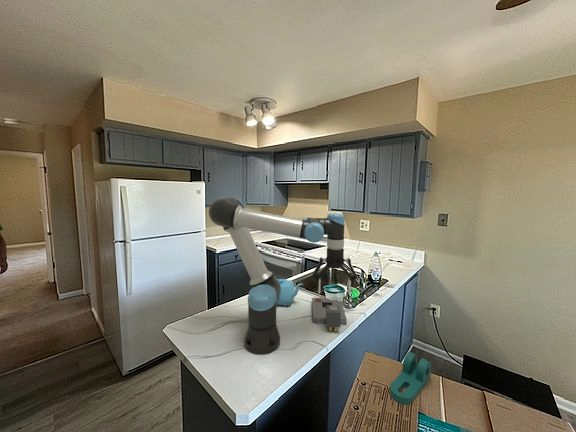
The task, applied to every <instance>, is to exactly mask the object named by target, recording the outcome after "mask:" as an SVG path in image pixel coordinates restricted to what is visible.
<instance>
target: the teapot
mask: <svg viewBox="0 0 576 432" xmlns="http://www.w3.org/2000/svg"><path fill="white" fill-rule="evenodd" d="M276 279H277V280H278V281H279V283H280V285H281V294H280V297H279V300H278V303H277V306H279V305H280V306H282V307H288V306H291V304H292V303H293V300H294V298H295V297H297V296H298V294H299V290H300V287H301V286H302V285H304V283H298V284H296V286H295V285H294V281H293V280H289V279H287V278H279V279H278V278H276ZM287 305H288V306H287Z"/></svg>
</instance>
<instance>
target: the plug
mask: <svg viewBox="0 0 576 432" xmlns="http://www.w3.org/2000/svg"><path fill="white" fill-rule="evenodd" d="M326 323H327V324H326V328H328V331H329V332H332V331H333V330H334V331H333V332H336V331H337V332H338V328H341V326H342V325H341V311H340V308H339V305H326Z"/></svg>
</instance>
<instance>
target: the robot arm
mask: <svg viewBox="0 0 576 432" xmlns="http://www.w3.org/2000/svg"><path fill="white" fill-rule="evenodd" d="M208 216H209V219H210V220H211V222H212V224H215V225H216V226H219V227H222V228H223V231H224V232H226V233H228V234H229V235H230V238H231V239H232V241H233V244H234V246H235V248H236V250H237V252H238V254H239V256H240V258H241V260H242V263H243V265H244V266H245V269H246V272H247V273H248V275H249V277H250V281H249V285H250V290H249V291H248V297H247V306H248V308H247V309H248V312H247V314H248V317H247V318H248V327H247V330H246V333H245V336H244V339H243V340H244V348H245V350H247V351H248V352H250V353H251V354H254V355H268V354H270V353H273V352H274V351H277V349H278V348H279V347H280V345H281V335H280V332H279V329H278V325H277V307H278V304H277V303H278V300H279V297H280V294H281V285H280V283H279V281H278V280H277V279H278V278H277V277H276V276H274V274H273V272H272V271H270V270H268V269H267V266H266V263H265V262H264V260H263V257H262V255H261V253H260V251H259V249H258V247H257V244H256V242H255V241H254V238H253V236H252V234H251V232H250V230H256V231H261V232H266V233H271V234H278V235H282V236H286V237H287V236H288V237H293V238H298V239H302V240H303V239H304V240H306V241H308V242H309V243H313V244H314V243H315V244H316V243H319V242H320V241H322V240H323V238H324V236H325V235H326V257H325V258H323V257H322V256H320V257H319V262H318V263H317V265H316V267H315V269H314V271H313V273H312V275H311V277H312V279H315V285H316V286H317V287H318V291H317V292H318V295H320V294H321V285H322V284H321V278H322V276H323V275H324V274H325V273H326V272H327V271H328V270H329V269H330V268H331V269H337V270H338V269H340V268H341V271H343V273H345V275H346V276H347V277H348V279H347V294H348V295H351V291H352V288H353V287H354V280H358V275H357V273H356V272H355V269H354V267H353V266H352V260H351V258H350V257H347V258H344V255H345V252H344V251H345V249H344V246H345V225H346V224H345V215H344V214H343V213H338V212H337V213H336V212H334V213H327V216H326V217H302V218H295V217H290V216H285V215H280V214H275V213H269V212H265V211H264V212H263V211H258V210H253V209H248V208H245V205H244V203H243V202H242V201H241V200H240V199H238V198H236V197H226V198H225V197H224V198H219V199H216V200H214V201H213V202H212V203H211V204H210V206H209V209H208ZM324 263H326V264H325V266H324V267H322V265H323V264H324ZM344 263H346V264H347V265H348V267H349V269H350V271H351V273H352V274H351V273H350V272H349V271H348V269H346V267H345V266H344V265H343V264H344ZM321 267H322V269H321ZM320 269H321V270H320ZM316 286H315V287H316Z"/></svg>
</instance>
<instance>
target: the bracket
mask: <svg viewBox="0 0 576 432" xmlns="http://www.w3.org/2000/svg"><path fill="white" fill-rule="evenodd" d="M418 358H419V357H418V354H415V353H413V352H411V351H408V352H407V353H406V354H405V356H404V359H403V362H402V371H401V373H400V374H398V376H397V377H396V378H395V379H394V380H393V381H392V382H391V383H390V386H389V395H390V396H391V398H392V399H393V400H394V401H396V403H400V404H401V405H410V404H412V403H413V401H414V400H416V397H418V395H419V394H420V393H421V392H422V391H423V389H424V388H425V386H426V385H427V384H428V383H429V381H430V380H431V376H432V375H431V373H432V362H431V361H428V360H427V359H425V358H423V357H422V358H420V360H418ZM418 361H419V362H418ZM404 388H406V389H405V390H404V391H403V392H402V390H403V389H404Z"/></svg>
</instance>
